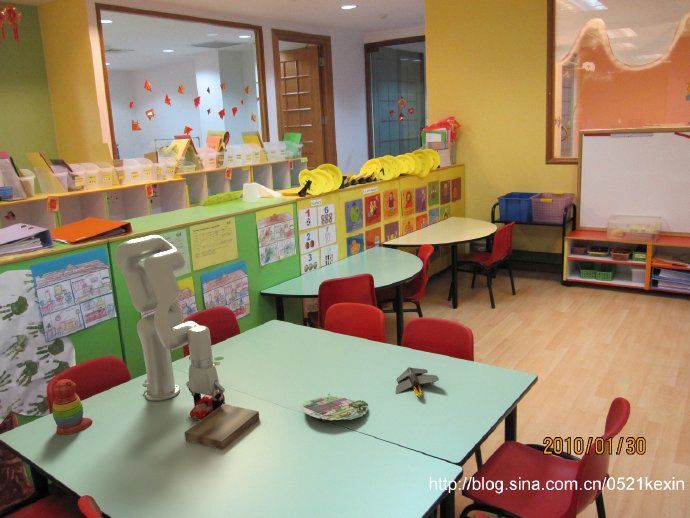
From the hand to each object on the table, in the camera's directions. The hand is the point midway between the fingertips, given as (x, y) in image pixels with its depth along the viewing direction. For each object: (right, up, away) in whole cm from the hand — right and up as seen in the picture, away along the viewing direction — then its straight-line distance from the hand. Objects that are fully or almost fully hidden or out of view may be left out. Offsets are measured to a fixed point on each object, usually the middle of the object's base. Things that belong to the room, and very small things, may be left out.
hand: (207, 406), depth 206 cm
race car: (0, -2, 0) cm, 2 cm away
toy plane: (+75, +5, +10) cm, 76 cm away
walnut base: (+9, -4, -14) cm, 17 cm away
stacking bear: (-45, -6, -7) cm, 46 cm away
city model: (+46, -1, -6) cm, 46 cm away
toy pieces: (-9, +8, +43) cm, 44 cm away
